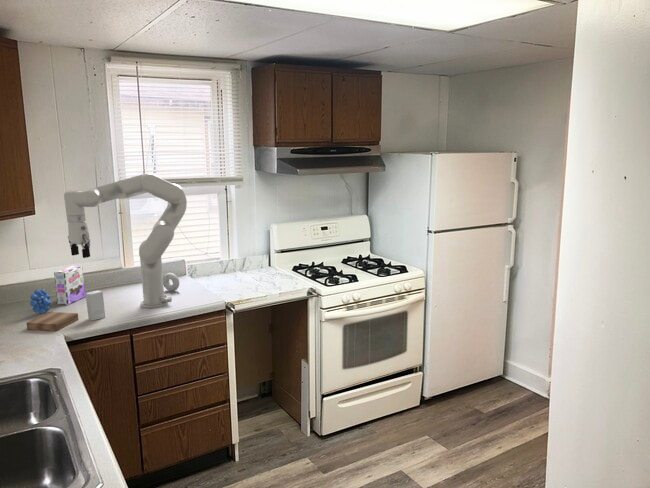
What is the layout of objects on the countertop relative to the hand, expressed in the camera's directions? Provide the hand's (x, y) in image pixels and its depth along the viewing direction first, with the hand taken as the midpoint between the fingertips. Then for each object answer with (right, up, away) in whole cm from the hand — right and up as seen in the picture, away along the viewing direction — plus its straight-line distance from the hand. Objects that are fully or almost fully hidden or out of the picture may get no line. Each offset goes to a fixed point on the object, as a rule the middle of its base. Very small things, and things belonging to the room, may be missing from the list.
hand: (80, 256), depth 236 cm
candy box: (-15, -23, +22) cm, 35 cm away
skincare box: (+9, -28, -4) cm, 29 cm away
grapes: (-18, -27, +3) cm, 32 cm away
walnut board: (-7, -29, -11) cm, 32 cm away
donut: (+30, -19, +36) cm, 51 cm away
